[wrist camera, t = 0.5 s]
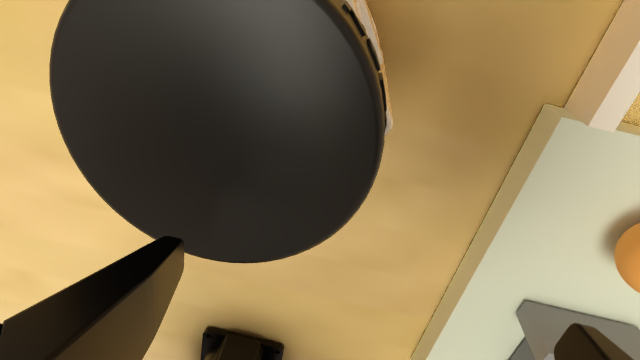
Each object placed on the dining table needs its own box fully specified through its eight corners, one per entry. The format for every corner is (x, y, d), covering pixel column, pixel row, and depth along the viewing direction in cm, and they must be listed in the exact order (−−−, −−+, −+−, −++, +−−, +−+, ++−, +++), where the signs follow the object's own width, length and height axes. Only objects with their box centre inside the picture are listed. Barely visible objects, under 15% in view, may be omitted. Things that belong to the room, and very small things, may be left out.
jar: (400, 97, 20) (433, 239, 10) (263, 144, 23) (173, 300, 12) (340, -95, 17) (294, -187, 6) (182, -17, 19) (-47, 13, 8)
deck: (585, 397, 30) (598, 424, 29) (411, 357, 30) (413, 381, 29) (810, 167, 20) (852, 187, 18) (544, 103, 20) (561, 117, 18)
